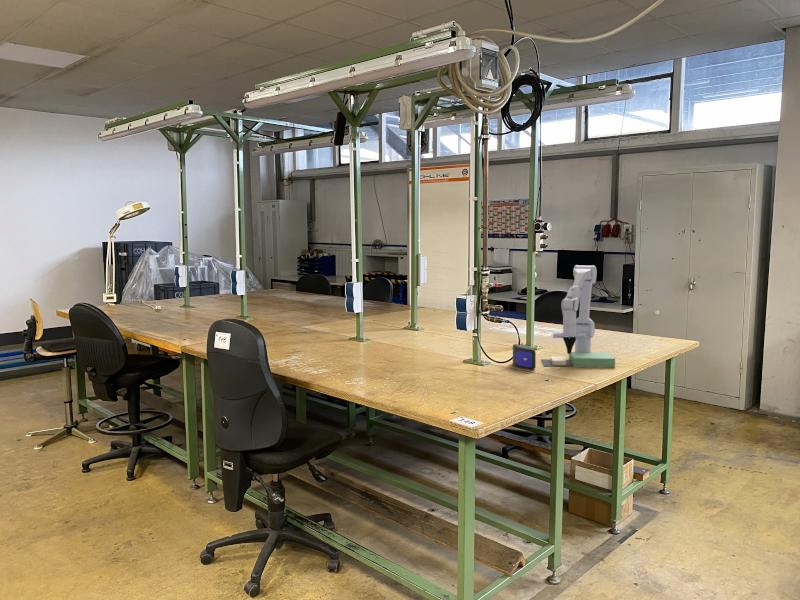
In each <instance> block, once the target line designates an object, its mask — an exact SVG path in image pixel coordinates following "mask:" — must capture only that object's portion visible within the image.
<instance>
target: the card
mask: <svg viewBox="0 0 800 600" xmlns="http://www.w3.org/2000/svg"><path fill="white" fill-rule="evenodd" d="M549 359H550V361H551V363H552V365H566V360H567V359H566V358H565V357H564V356H550V358H549Z"/></svg>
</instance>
